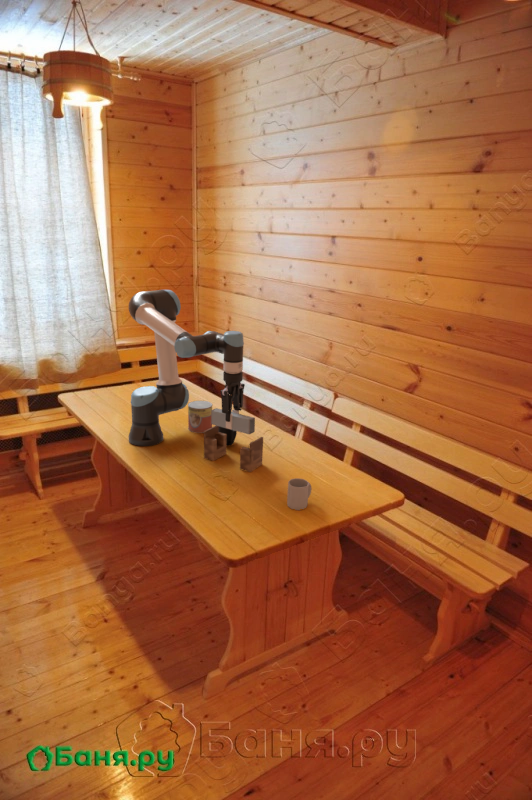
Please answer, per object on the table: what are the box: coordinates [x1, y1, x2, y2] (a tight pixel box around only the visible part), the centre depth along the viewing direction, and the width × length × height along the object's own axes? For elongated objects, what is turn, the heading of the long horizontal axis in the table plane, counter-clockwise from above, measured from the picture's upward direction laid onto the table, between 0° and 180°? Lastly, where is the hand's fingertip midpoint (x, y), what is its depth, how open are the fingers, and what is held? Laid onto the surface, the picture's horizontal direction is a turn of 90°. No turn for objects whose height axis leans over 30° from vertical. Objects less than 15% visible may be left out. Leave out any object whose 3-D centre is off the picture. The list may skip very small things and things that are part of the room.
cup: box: [286, 477, 312, 511], centre depth 203 cm, size 7×10×9 cm
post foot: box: [239, 436, 264, 473], centre depth 230 cm, size 5×9×12 cm, turn 149°
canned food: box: [187, 400, 213, 434], centre depth 268 cm, size 11×11×12 cm
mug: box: [218, 426, 238, 447], centre depth 251 cm, size 8×12×10 cm
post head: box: [203, 425, 227, 462], centre depth 239 cm, size 5×9×12 cm, turn 149°
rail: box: [211, 407, 256, 435], centre depth 230 cm, size 19×4×6 cm, turn 57°
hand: (232, 426), depth 231 cm, fingers closed on rail, 3 cm apart
